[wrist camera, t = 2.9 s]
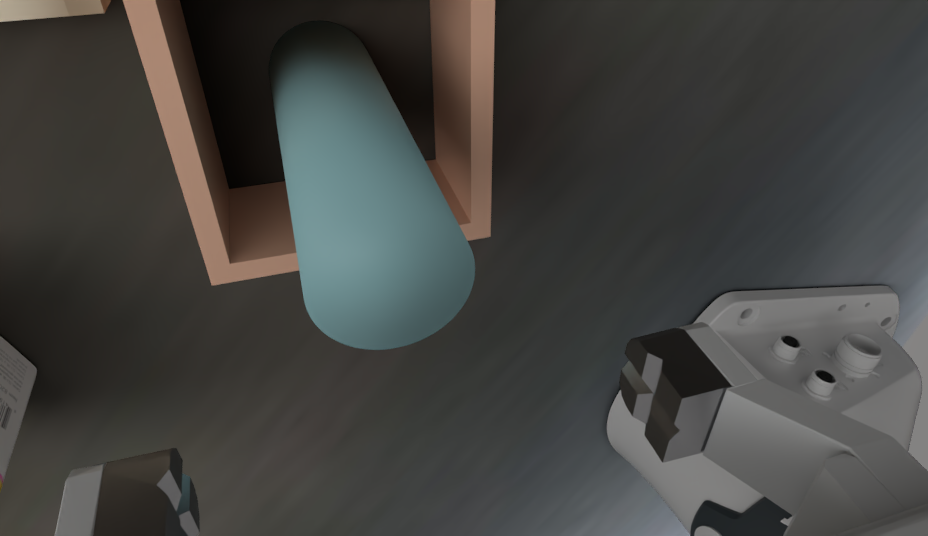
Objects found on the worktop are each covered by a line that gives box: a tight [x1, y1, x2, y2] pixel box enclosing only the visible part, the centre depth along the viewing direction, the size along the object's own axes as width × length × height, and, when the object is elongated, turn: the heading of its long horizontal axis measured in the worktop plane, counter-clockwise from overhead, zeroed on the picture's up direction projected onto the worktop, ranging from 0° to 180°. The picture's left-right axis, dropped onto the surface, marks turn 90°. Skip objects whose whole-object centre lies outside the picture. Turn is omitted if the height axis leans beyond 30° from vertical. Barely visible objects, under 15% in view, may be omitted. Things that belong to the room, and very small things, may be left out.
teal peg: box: [269, 21, 475, 350], centre depth 20 cm, size 4×4×14 cm
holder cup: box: [123, 0, 495, 286], centre depth 24 cm, size 11×11×6 cm
